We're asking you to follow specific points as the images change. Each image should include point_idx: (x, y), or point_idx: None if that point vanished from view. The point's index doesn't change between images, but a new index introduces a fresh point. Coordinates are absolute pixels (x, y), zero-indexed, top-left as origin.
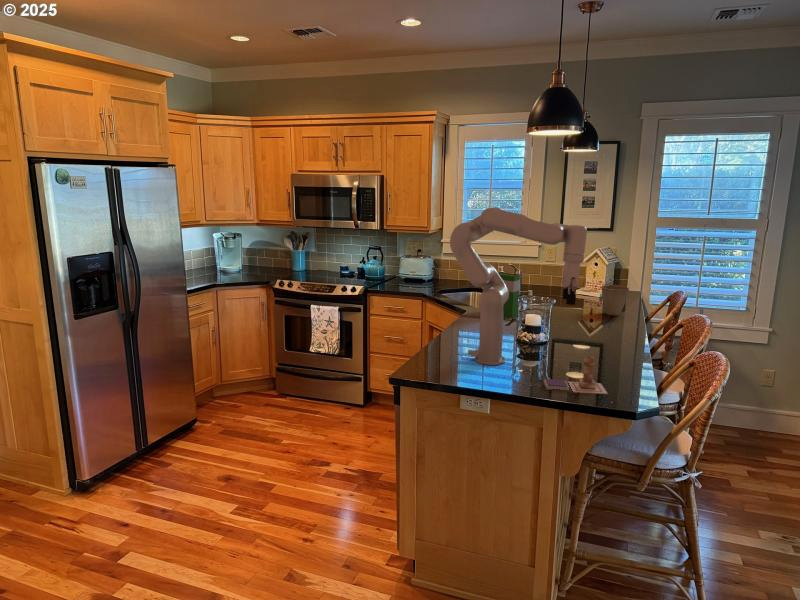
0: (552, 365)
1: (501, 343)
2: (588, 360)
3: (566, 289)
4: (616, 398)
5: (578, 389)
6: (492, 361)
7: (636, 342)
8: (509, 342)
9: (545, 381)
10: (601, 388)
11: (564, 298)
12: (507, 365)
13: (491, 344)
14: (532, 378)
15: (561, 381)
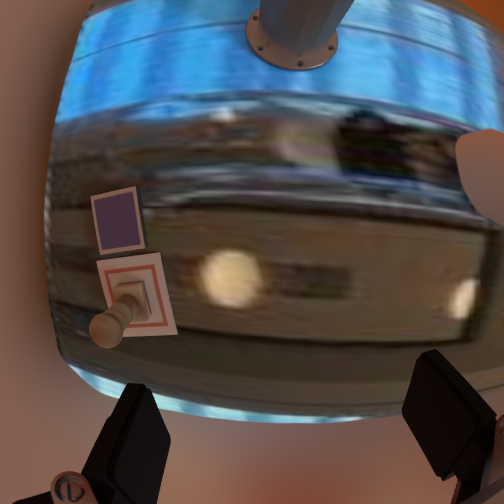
0: (303, 213)
1: (291, 29)
2: (89, 328)
3: (468, 445)
4: None
5: (112, 276)
6: (259, 36)
7: None
8: (464, 113)
9: (120, 191)
10: (141, 329)
11: (417, 369)
12: (263, 78)
13: (261, 2)
14: (162, 153)
15: (127, 236)
